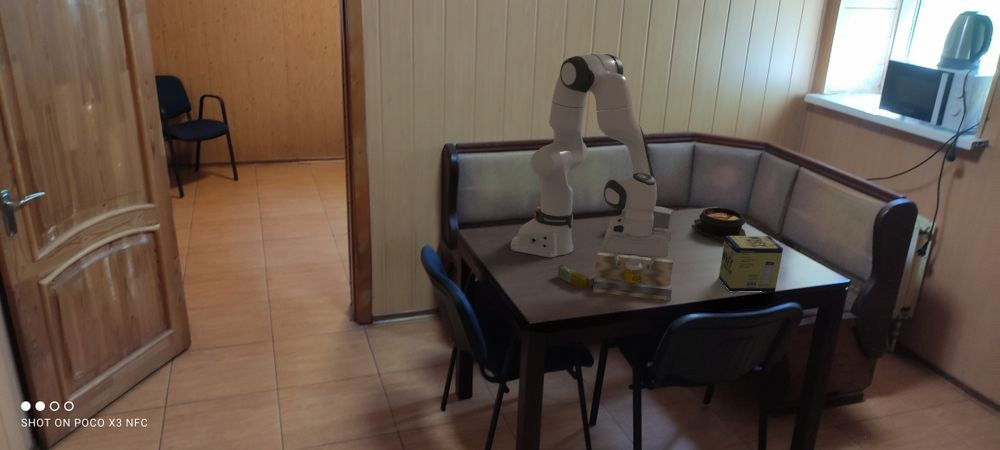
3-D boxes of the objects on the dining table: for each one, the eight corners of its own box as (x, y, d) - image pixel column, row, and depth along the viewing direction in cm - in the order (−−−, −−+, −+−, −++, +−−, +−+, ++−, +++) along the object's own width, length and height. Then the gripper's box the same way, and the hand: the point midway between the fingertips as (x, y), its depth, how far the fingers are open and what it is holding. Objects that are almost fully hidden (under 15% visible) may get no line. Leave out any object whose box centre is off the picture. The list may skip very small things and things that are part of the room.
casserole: (682, 224, 288) (685, 204, 285) (723, 221, 293) (727, 201, 290) (714, 248, 266) (718, 226, 263) (759, 244, 270) (762, 224, 267)
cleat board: (592, 291, 227) (595, 265, 224) (594, 277, 237) (597, 252, 234) (670, 300, 224) (674, 274, 220) (669, 285, 234) (672, 260, 231)
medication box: (557, 276, 237) (558, 265, 236) (563, 274, 239) (564, 263, 237) (582, 290, 229) (583, 279, 227) (588, 288, 230) (589, 277, 229)
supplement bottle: (632, 280, 234) (635, 253, 231) (643, 286, 230) (647, 259, 226) (619, 283, 231) (622, 256, 228) (630, 290, 227) (634, 262, 224)
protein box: (717, 278, 241) (724, 235, 235) (762, 278, 242) (770, 235, 236) (728, 292, 231) (736, 247, 225) (776, 292, 232) (784, 248, 227)
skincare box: (641, 251, 260) (646, 209, 254) (645, 244, 266) (650, 204, 260) (664, 255, 257) (670, 213, 251) (668, 248, 263) (673, 207, 258)
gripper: (672, 225, 225) (666, 266, 230) (605, 218, 228) (601, 258, 233) (672, 233, 219) (666, 274, 224) (604, 225, 222) (600, 266, 227)
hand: (633, 266), depth 228 cm, fingers open, 8 cm apart
